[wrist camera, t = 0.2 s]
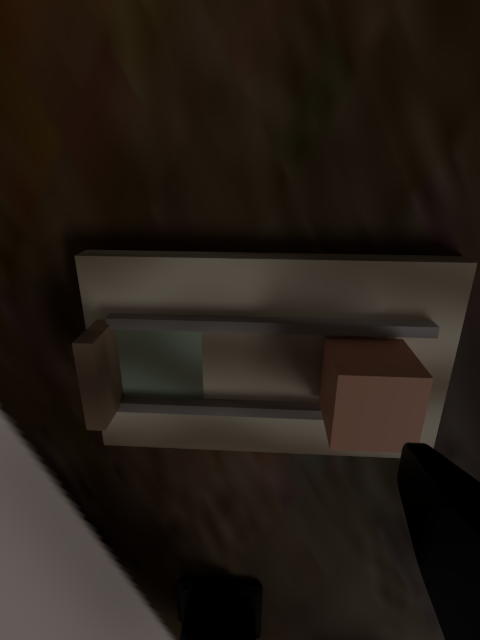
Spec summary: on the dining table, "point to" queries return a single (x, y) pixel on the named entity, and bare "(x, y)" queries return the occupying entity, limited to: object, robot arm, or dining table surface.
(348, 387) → the terracotta cardboard box
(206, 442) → the track board
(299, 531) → the dining table surface
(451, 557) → the robot arm
